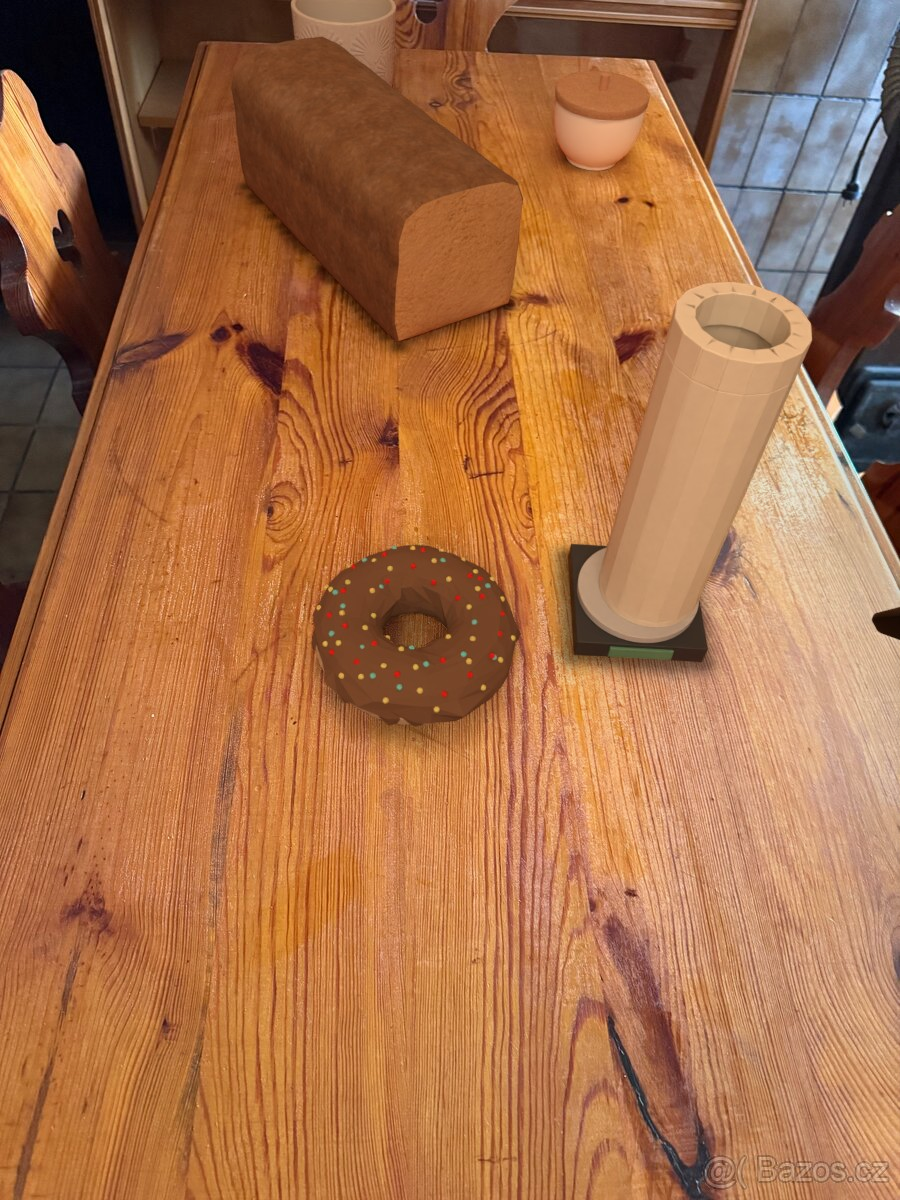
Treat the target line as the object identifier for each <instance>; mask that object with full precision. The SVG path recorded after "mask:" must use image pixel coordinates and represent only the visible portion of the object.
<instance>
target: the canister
mask: <svg viewBox="0 0 900 1200" xmlns="http://www.w3.org/2000/svg"><path fill="white" fill-rule="evenodd" d="M812 341H813V332H812V323H811V321H810V320H809V318H808V317H807V316H806V315H805V313H804V312H803V310H802V309H801V308H800V307H799V306H797V305H796V304H795V303H793V302H792V301H790V300H789V299H788V298H786V297H785V296H783V295H782V294H779V293H777V292H774V291H772V290H769V289H767V288H764V287H761V286H759V285H756V284H749V283H743V282H737V281H719V282H705V283H702V284H700V285H697V286H695V287H692V288H690V289H687V290H686V291H685V292H684V293H683V294H682V295H681V296H680V297H679V298H678V299H677V301H675V304H674V308H673V311H672V315H671V319H670V322H669V326H668V329H667V332H666V336H665V339H664V343H663V346H662V350H661V354H660V357H659V361H658V365H657V369H656V371H655V375H654V378H653V382H652V385H651V389H650V393H649V396H648V400H647V403H646V406H645V411H644V413H643V414H644V415H643V418H642V421H641V425H640V429H639V432H638V435H637V439H636V441H635V445H634V449H633V452H632V457H631V459H630V460H631V461H630V464H629V468H628V471H627V474H626V478H625V481H624V485H623V489H622V492H621V496H620V499H619V503H618V506H617V510H616V513H615V517H614V519H613V524H612V528H611V531H610V534H609V538H608V541H607V545H606V546H607V549H606V552H605V556H604V559H603V563H602V567H601V572H600V576H599V588H600V592H601V595H602V597H603V599H604V600H605V602H606V604H607V605H608V606H609V607H610V608H611V609H612V610H613V611H614V612H615V613H616V614H618V615H619V616H620V617H622V618H624V619H625V620H627V621H630V622H632V623H635V624H637V625H641V626H646V627H667V626H671V625H675V624H677V623H679V622H681V621H683V620H684V619H686V618H687V617H688V616H689V615H690V614H691V613H692V612H693V610H694V608H695V606H696V604H697V602H698V601H700V599H701V597H702V594H703V592H704V589H705V587H706V585H707V583H708V581H709V579H710V576H711V574H712V572H713V569H714V567H715V565H716V563H717V560H718V558H719V556H720V553H721V550H722V549H723V546H724V543H725V541H726V540H727V537H728V535H729V532H730V531H731V528H732V525H733V523H734V521H735V518H736V517H737V514H738V511H739V510H740V507H741V505H742V502H743V500H744V498H745V495H746V493H747V491H748V489H749V486H750V485H751V482H752V479H753V477H754V476H755V472H756V471H757V469H758V465H759V463H760V461H761V459H762V457H763V455H764V453H765V450H766V448H767V445H768V443H769V440H770V438H771V436H772V434H773V432H774V430H775V427H776V424H777V423H778V420H779V418H780V415H781V413H782V411H783V408H784V406H785V404H786V402H787V399H788V397H789V396H790V395H789V394H790V393H791V391H792V388H793V386H794V383H795V381H796V378H797V376H798V374H799V371H800V369H801V367H802V366H803V362H804V360H805V358H806V356H807V353H808V351H809V349H810V347H811V344H812Z"/></svg>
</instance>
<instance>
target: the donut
mask: <svg viewBox="0 0 900 1200" xmlns="http://www.w3.org/2000/svg"><path fill="white" fill-rule="evenodd" d="M323 590H324V592H323V594H322V596H321V597H320V599H319V601H318V603H317V605H316V607H315V609H314V610H313V612H312V619H313V620H312V621H313V625H314V629H313V635H312V639H311V648H312V650H313V651H314V652H315V653H316V657H317V660H318V663H319V666H320V667H321V669H322V671H323V673H324V674H323V683H325V685H326V686H327V687H329V689H330V690H332V691H333V692H334V694H335V695H337V696H338V697H339V698H340V700H341V701H342V702H343V703H344V704H350V705H351V706H352V707H354V708H355V709H357V710H360V711H361V712H363V713H365V714H367V715H370V716H371V717H373V718H374V719H377V720H381V721H383V723H385V724H386V725H387V726H393V725H397V724H398V725H403V726H404V725H405V726H406V725H407V726H414V727H419V726H430V725H434V724H438V723H439V724H440V723H449V722H456V721H459V720H461V719H463V718H465V717H467V716H469V715H470V714H472V713H473V712H474V711H476V710H477V709H479V708H480V707H481V706H483V705H484V704H486V703H487V702H488V701H489V700H491V699H492V698H493V697H494V696H495V694H496V693H497V692H498V691H499V690H500V689H501V688H502V687H503V685H504V684H505V682H506V681H507V679H508V677H509V673H510V669H511V667H512V664H513V660H514V656H515V652H516V647H517V642H518V641H519V639H520V637H521V635H522V633H521V631H520V629H519V626H518V624H517V620H516V619H515V616H514V613H513V611H512V608H511V605H510V603H509V600H508V598H507V596H506V593H505V591H504V590H502V588H501V587H500V585H499V584H498V583H497V582H496V578H495V577H494V576H492V575H491V574H490V573H489V572H488V571H487V569H485V568H484V567H483V566H481V565H478V564H476V563H474V562H472V561H469V560H468V559H466V558H465V557H463V556H462V557H461V556H458V554H455V553H452V552H449V551H445V549H443V548H437V547H433V546H431V545H427V544H426V545H424V543H423V542H418V543H417V544H407V545H400V546H396V545H392V546H391V548H388V549H385V550H381V551H379V552H375V553H371V554H369V555H367V556H366V557H363V558H361V559H360V560H359V561H357V562H355V563H353V564H350V563H349V564H347V565H346V568H344V569H343V570H341V571H340V572H338V573H337V574H336V575H335V576H334V577H333V579H332V580H331V581H330V582H329V584H325V585H324V587H323ZM417 614H419V615H424V616H426V617H429V618H433V619H435V620H437V621H438V622H439V623H440V624H441V625H442V626H443V627H444V628H445V629H446V632H445V633H446V634H445V635H444V636H443V637H439V638H434V639H432V640H431V641H430V642H428V643H427V644H426V645H423V646H420V647H416V646H414V645H412V644H410V645H409V646H406V645H399V644H396V643H394V642H393V641H392V640H391V636H390V635H388V634H386V635H385V628H386V626H387V625H389V623H391V622H392V620H394V619H397V618H399V617H401V616H406V615H417Z"/></svg>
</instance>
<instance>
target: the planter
mask: <svg viewBox="0 0 900 1200" xmlns="http://www.w3.org/2000/svg"><path fill="white" fill-rule="evenodd" d="M290 9H291V19H292V27H293V36H294V40H298V39H305V38H314V37H324V38H326V39H329V40H331V41H333V42H335V43H338V44H339V45H340V46H342V47H343V48H345V49H346V50H347V51H348V52H349V53H351V54H352V55H353V56H354V57H355V58H357V59H358V60H359V61H360V62H362V63H363V64H364V65H366V66H367V67H368V68H370V69H371V70H372V71H373V72H375V73H376V74H377V75H378V76H379V77H381V78H382V79H383V80H384V81H385V82H387V83H388V84H389V85H390V86H391V87H392V88H393V82H394V72H395V57H396V32H397V31H396V29H397V28H396V27H397V22H396V21H397V4H396V2H395V1H394V0H291V2H290Z"/></svg>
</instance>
